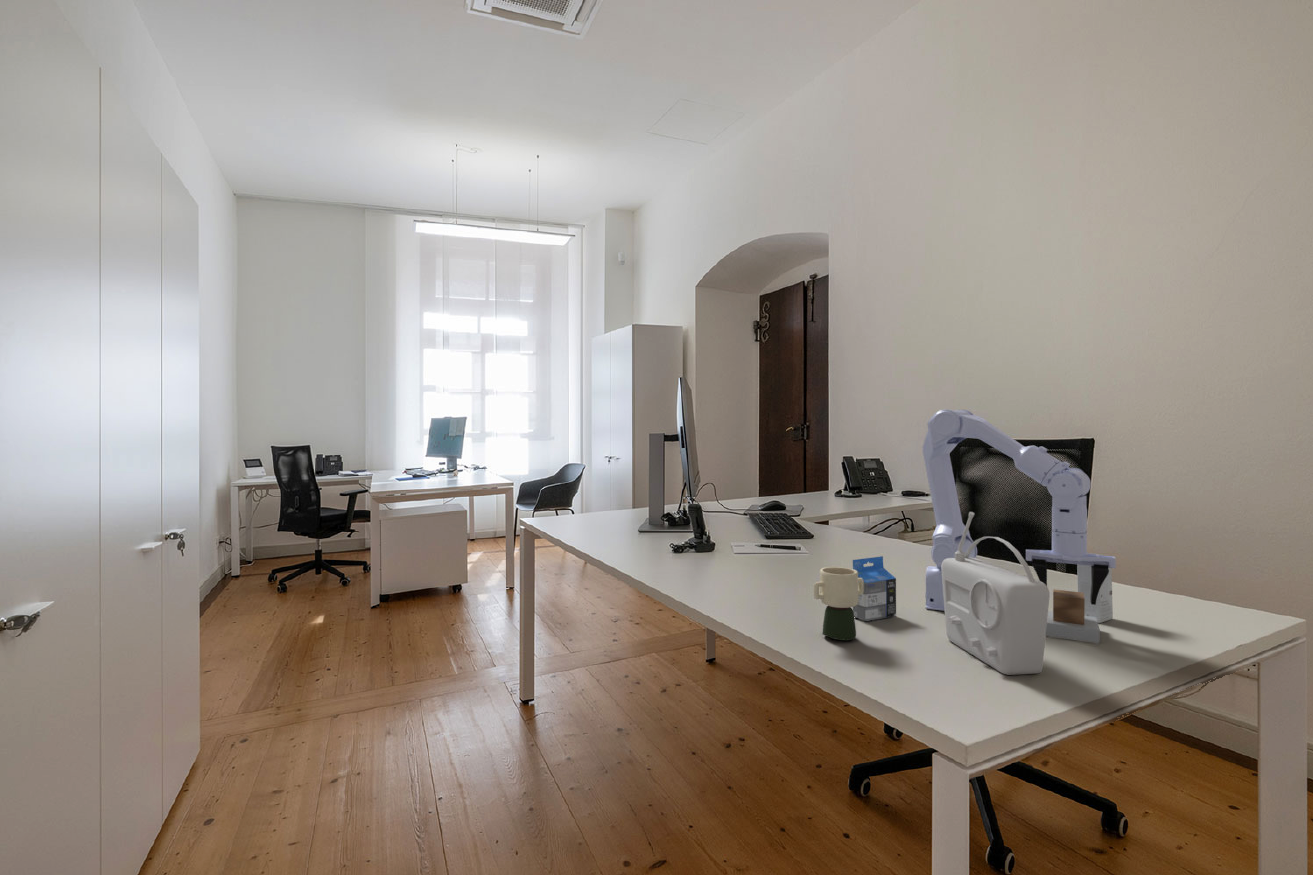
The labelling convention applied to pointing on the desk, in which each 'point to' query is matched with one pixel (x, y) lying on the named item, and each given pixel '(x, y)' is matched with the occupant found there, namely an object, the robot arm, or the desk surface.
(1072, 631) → the stoneware block
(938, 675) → the desk surface
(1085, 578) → the skincare box
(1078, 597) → the walnut cube
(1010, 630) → the radio
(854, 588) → the character mug
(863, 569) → the ink cartridge box
